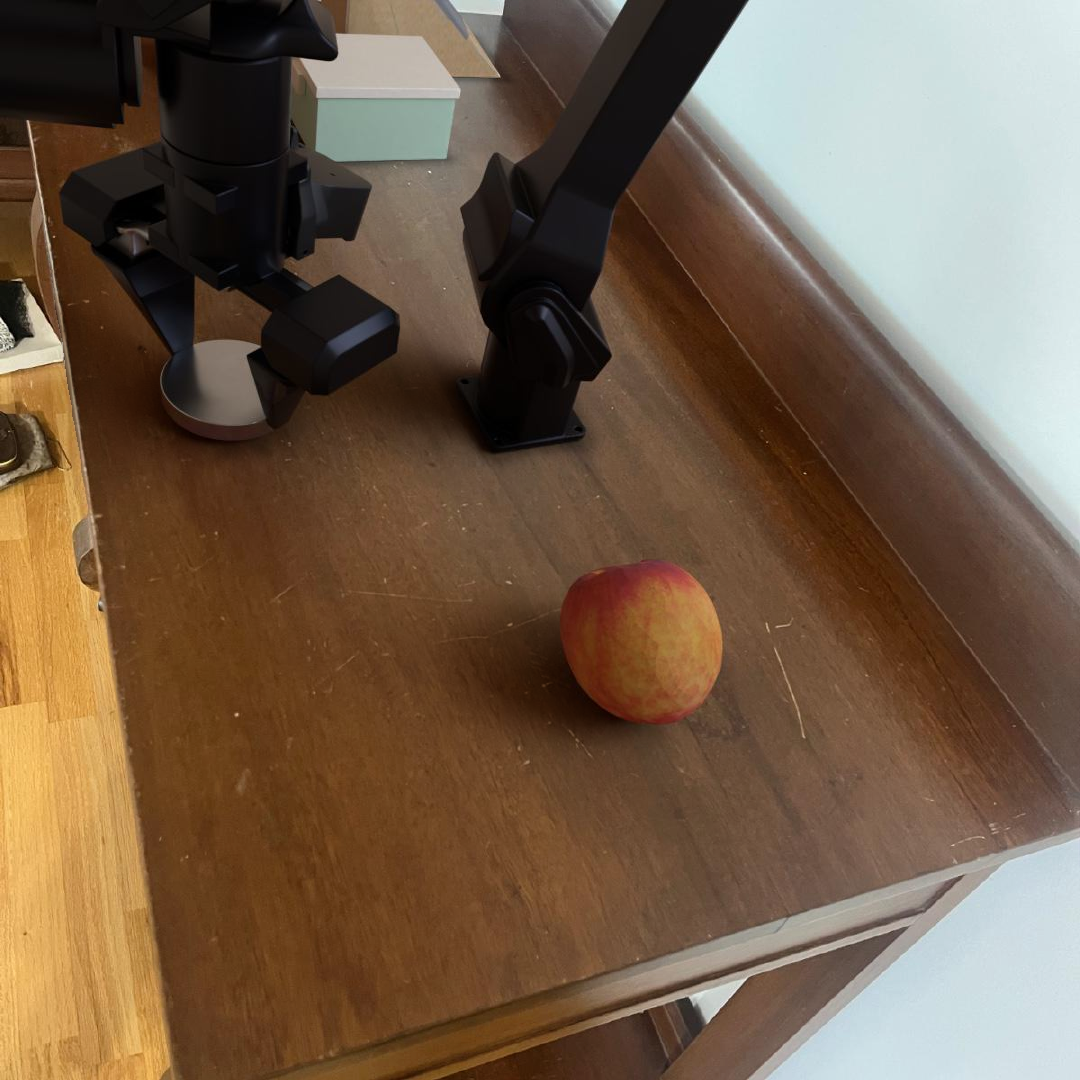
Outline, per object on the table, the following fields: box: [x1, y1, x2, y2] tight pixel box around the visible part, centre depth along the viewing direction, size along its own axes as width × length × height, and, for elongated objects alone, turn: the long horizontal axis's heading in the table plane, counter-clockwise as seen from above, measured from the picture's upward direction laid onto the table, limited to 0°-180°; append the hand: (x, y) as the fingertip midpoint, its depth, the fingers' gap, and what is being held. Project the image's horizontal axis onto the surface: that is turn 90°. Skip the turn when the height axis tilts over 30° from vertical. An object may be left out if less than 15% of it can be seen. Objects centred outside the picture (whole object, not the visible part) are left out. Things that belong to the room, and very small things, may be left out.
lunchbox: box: [290, 34, 461, 163], centre depth 80 cm, size 12×9×6 cm
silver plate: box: [159, 339, 275, 442], centre depth 58 cm, size 7×7×2 cm
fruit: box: [559, 558, 723, 726], centre depth 48 cm, size 8×8×8 cm
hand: (230, 390), depth 58 cm, fingers closed on silver plate, 7 cm apart
